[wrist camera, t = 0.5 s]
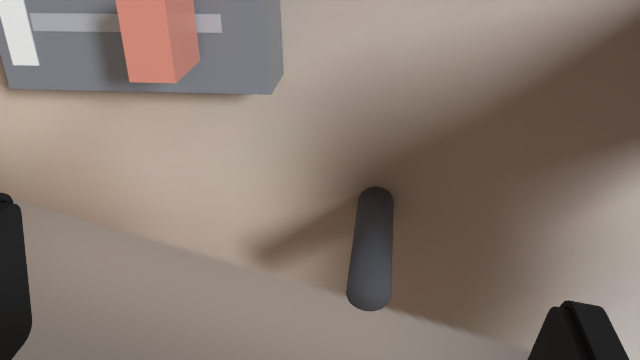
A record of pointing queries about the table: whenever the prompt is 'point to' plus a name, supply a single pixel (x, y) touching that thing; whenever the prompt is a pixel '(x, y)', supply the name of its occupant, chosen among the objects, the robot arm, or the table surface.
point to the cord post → (371, 251)
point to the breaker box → (108, 52)
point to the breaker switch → (158, 39)
